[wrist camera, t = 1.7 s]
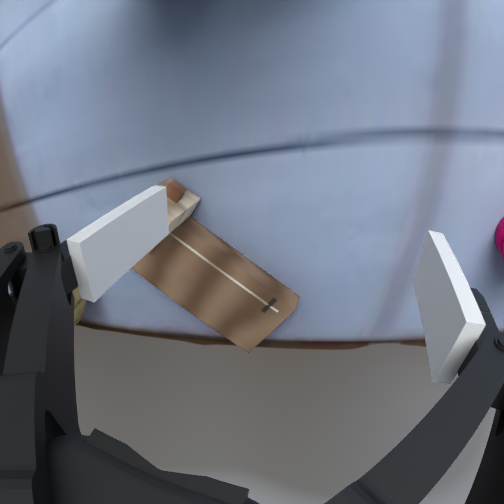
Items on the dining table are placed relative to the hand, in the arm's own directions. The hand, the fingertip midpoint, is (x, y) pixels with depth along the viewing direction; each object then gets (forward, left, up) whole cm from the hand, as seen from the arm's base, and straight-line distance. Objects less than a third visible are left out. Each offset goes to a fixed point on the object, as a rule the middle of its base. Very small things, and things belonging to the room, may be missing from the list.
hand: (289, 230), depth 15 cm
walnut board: (-2, -24, -23) cm, 33 cm away
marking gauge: (-11, -18, -23) cm, 31 cm away
